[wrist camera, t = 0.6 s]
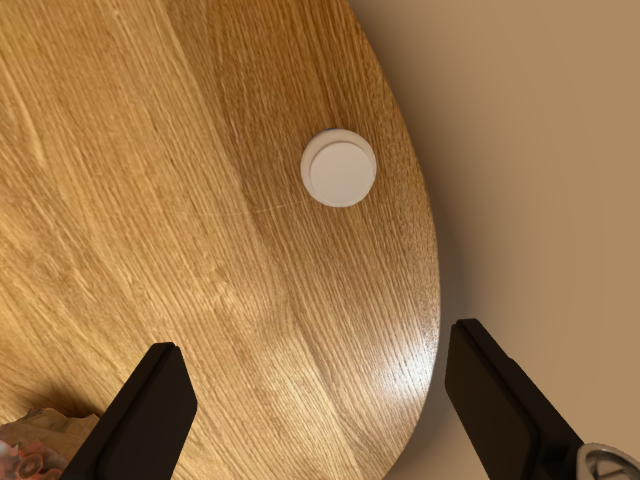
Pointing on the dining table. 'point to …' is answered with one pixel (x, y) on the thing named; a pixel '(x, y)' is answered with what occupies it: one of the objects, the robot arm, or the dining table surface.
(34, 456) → the brown toy tank
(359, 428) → the dining table surface
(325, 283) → the dining table surface
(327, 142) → the pill bottle
